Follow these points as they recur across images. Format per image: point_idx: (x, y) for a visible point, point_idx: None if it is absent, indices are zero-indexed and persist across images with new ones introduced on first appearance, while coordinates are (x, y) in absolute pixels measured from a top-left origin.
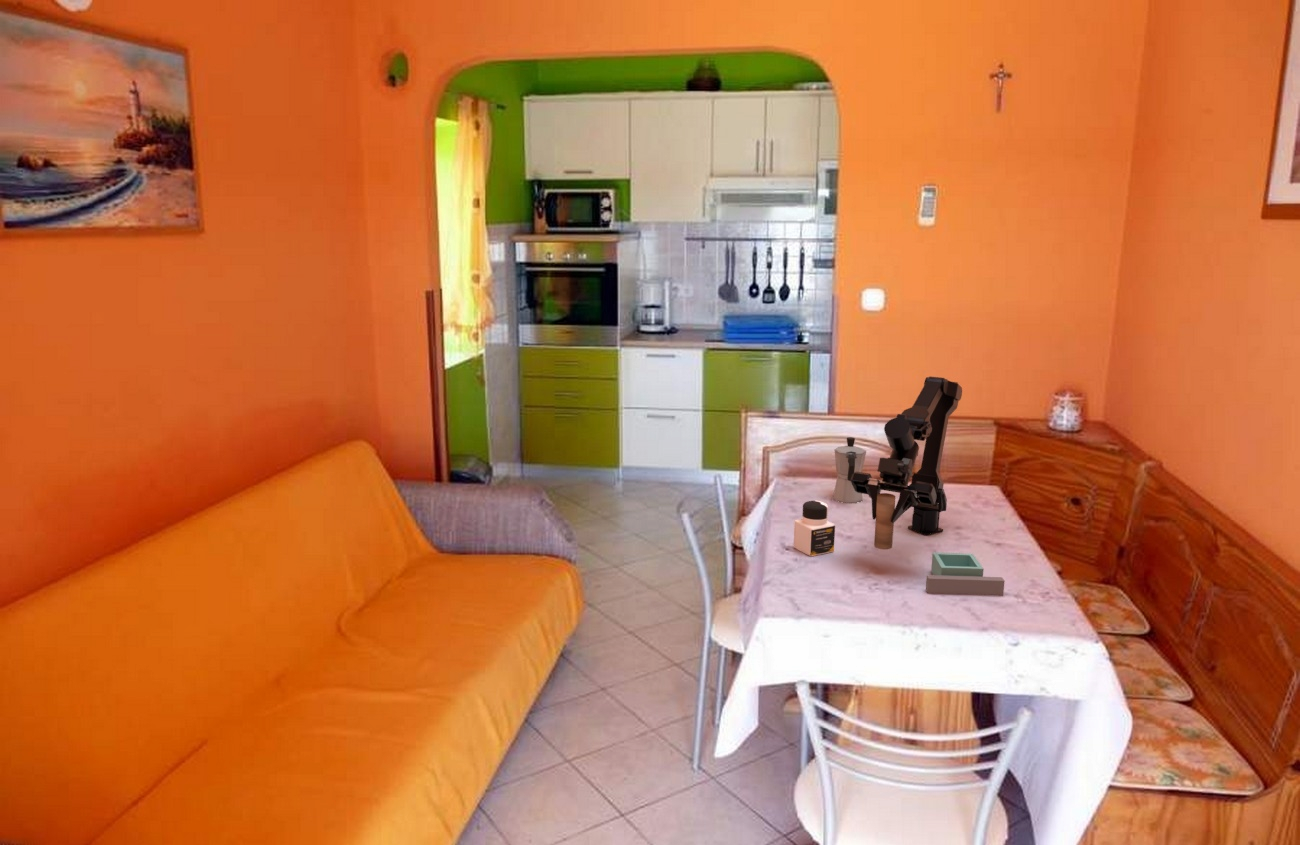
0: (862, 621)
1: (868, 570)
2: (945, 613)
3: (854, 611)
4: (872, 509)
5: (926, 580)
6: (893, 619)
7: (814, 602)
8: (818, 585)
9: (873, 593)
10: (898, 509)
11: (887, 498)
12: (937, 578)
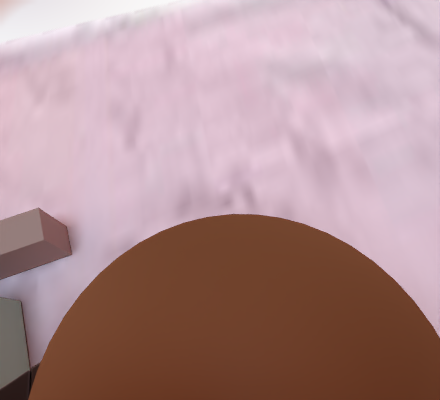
0: (220, 3)
1: None
2: (23, 117)
3: (251, 39)
4: None
5: (54, 243)
6: (152, 38)
7: (364, 45)
8: (405, 148)
9: (229, 160)
10: None
11: (185, 239)
12: (6, 222)
